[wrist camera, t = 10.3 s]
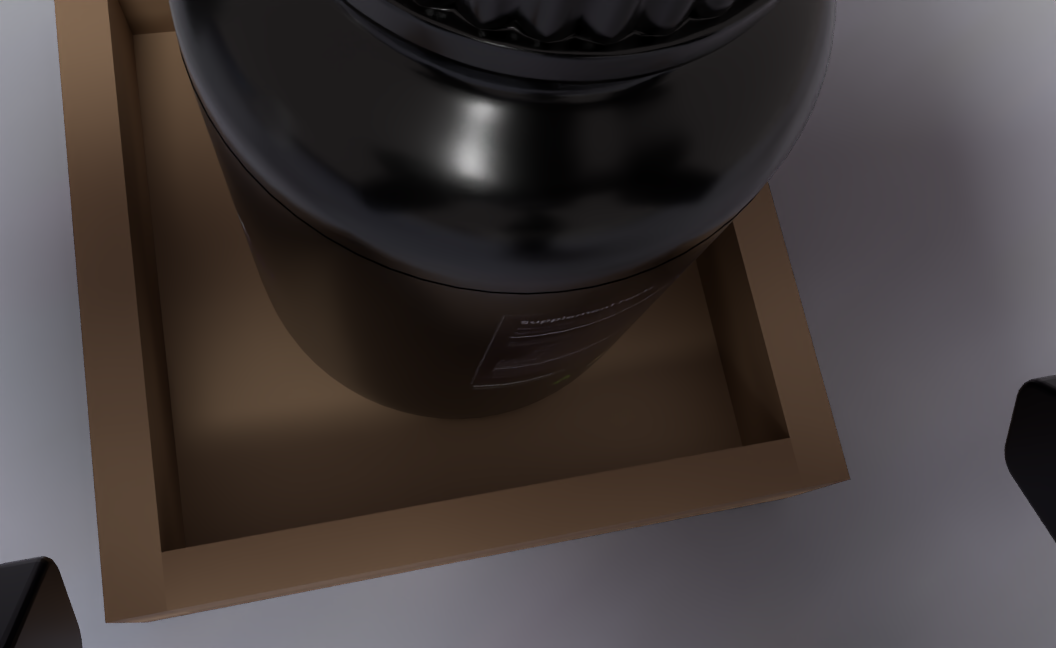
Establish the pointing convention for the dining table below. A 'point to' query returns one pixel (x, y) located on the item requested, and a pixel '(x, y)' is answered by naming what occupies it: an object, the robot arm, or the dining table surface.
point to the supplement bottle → (490, 170)
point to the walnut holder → (356, 422)
